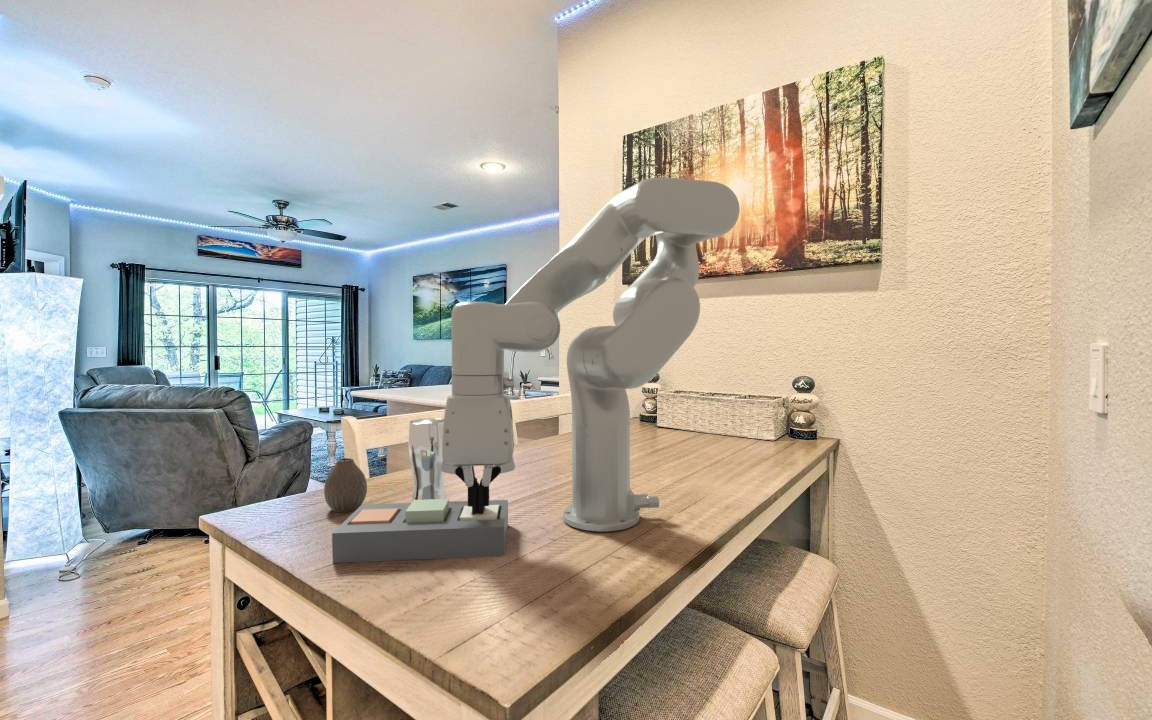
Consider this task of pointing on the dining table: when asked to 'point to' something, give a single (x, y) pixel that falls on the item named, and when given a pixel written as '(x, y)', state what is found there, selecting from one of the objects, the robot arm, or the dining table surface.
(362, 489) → the vase
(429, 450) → the beer glass
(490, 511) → the cream button
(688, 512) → the dining table surface
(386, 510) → the terracotta button
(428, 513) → the sage button
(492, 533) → the button panel
